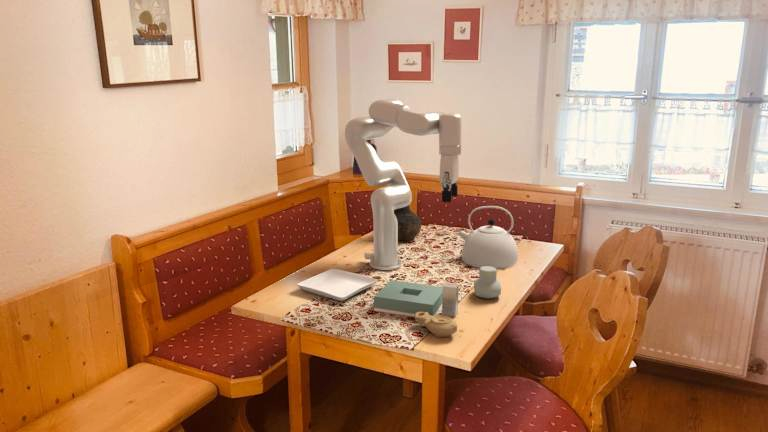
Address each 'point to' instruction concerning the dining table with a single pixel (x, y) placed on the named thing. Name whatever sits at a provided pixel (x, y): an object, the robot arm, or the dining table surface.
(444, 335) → the oil lamp
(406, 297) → the well block
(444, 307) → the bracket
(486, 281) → the air freshener
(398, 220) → the dark vase
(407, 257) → the dining table surface
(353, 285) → the salad plate
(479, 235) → the kettle
